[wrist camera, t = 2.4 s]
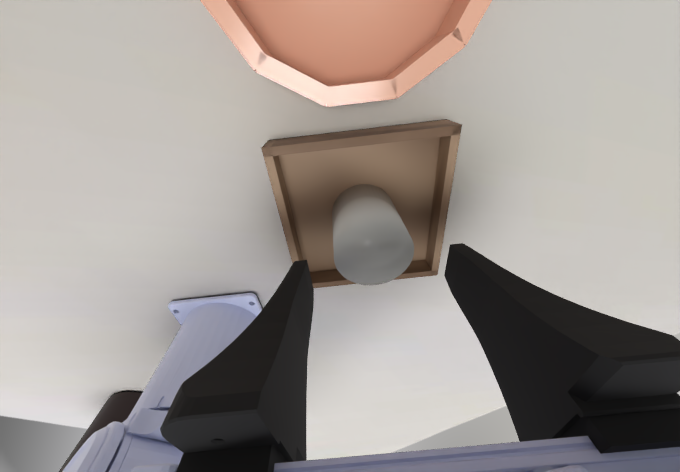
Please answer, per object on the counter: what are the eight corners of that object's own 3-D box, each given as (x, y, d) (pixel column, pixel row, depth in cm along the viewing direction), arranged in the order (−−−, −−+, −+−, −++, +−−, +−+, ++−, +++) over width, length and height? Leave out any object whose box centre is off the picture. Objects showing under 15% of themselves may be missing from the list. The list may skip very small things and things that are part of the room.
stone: (392, 235, 19) (411, 281, 14) (335, 241, 19) (338, 288, 14) (393, 180, 16) (417, 216, 12) (328, 187, 16) (328, 226, 12)
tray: (428, 259, 21) (437, 275, 19) (301, 272, 21) (299, 289, 19) (446, 119, 15) (461, 124, 13) (268, 140, 15) (261, 148, 13)
